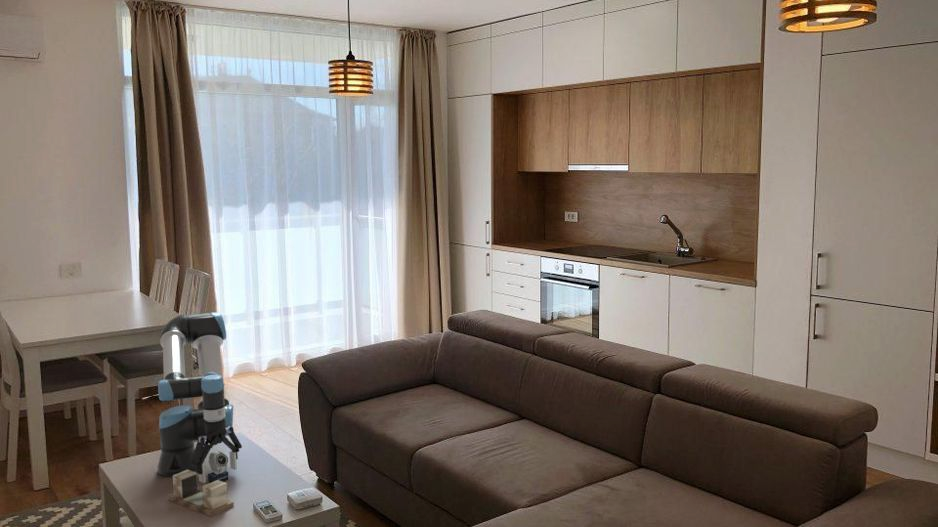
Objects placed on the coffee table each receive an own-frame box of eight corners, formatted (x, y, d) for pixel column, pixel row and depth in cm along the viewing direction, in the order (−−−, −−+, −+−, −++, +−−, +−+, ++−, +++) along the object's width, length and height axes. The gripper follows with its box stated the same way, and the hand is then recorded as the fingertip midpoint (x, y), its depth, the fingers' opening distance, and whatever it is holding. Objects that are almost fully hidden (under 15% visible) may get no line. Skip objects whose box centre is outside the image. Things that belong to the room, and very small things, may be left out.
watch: (218, 486, 278) (216, 457, 276) (205, 481, 283) (203, 452, 281) (232, 481, 282) (230, 452, 281) (218, 476, 287) (217, 447, 285)
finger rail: (168, 499, 267) (167, 476, 266) (191, 490, 275) (189, 467, 273) (211, 516, 254) (209, 491, 253) (233, 506, 262) (232, 482, 260)
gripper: (191, 430, 267) (195, 489, 270) (249, 410, 287) (252, 465, 290) (177, 426, 271) (182, 484, 274) (236, 407, 291) (239, 461, 294)
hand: (218, 475), depth 282 cm, fingers open, 13 cm apart
